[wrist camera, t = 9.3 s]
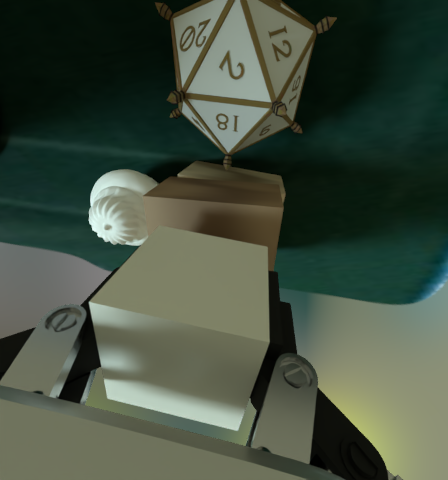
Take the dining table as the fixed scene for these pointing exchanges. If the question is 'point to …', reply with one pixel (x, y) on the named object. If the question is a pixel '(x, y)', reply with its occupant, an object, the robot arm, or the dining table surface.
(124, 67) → the dining table surface
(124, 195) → the white rounded piece
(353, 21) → the dining table surface
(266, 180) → the oak block
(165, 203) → the walnut block
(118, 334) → the ivory cube
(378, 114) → the dining table surface
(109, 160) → the dining table surface
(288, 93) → the game die
